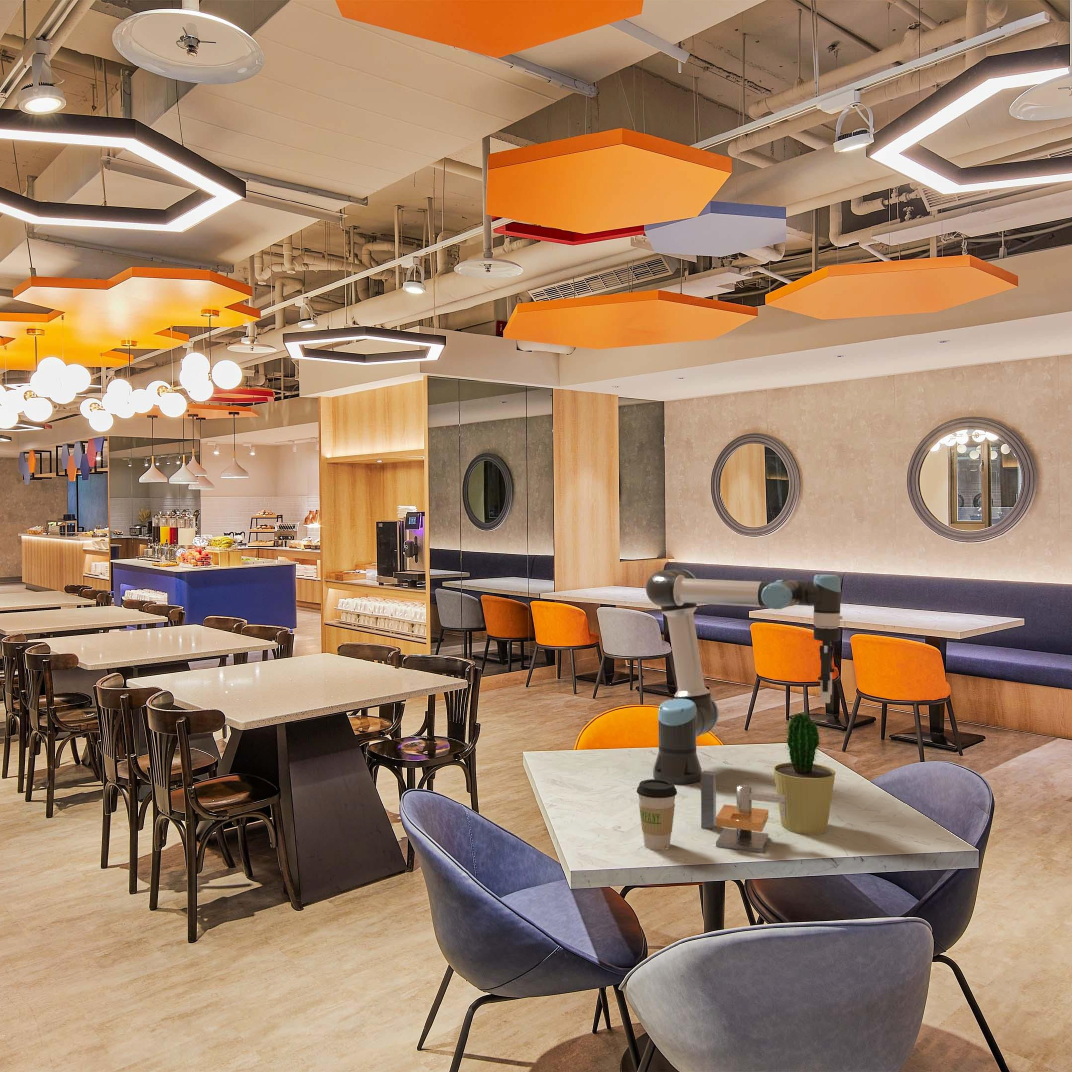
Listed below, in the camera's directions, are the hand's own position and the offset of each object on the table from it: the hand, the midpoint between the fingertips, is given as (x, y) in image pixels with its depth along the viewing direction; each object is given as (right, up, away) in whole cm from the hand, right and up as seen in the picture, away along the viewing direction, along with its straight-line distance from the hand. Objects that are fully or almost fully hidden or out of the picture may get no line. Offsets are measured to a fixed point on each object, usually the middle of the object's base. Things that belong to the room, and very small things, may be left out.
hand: (826, 698), depth 256 cm
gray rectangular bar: (-41, -27, -32) cm, 59 cm away
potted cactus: (-17, -27, -32) cm, 46 cm away
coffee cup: (-57, -28, -45) cm, 77 cm away
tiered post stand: (-33, -27, -44) cm, 61 cm away
